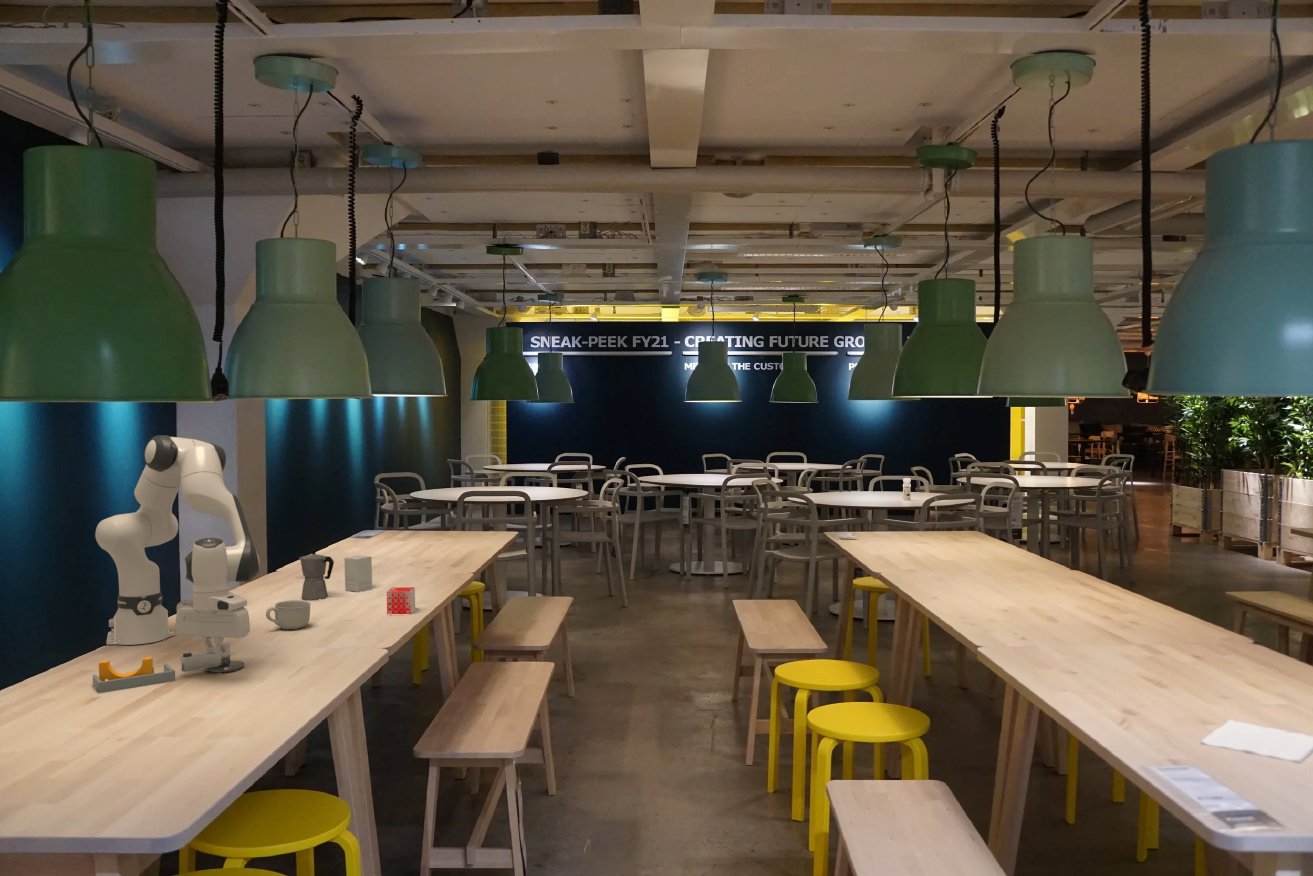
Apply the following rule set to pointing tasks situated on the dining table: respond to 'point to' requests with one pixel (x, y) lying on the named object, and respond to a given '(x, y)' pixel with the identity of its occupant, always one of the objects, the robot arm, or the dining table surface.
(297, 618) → the teacup
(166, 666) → the bay
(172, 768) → the dining table surface
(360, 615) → the dining table surface
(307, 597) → the coffeepot
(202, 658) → the crank
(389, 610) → the puzzle cube
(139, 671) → the pipe clamp
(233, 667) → the crank base
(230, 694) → the dining table surface
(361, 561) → the supplement box
